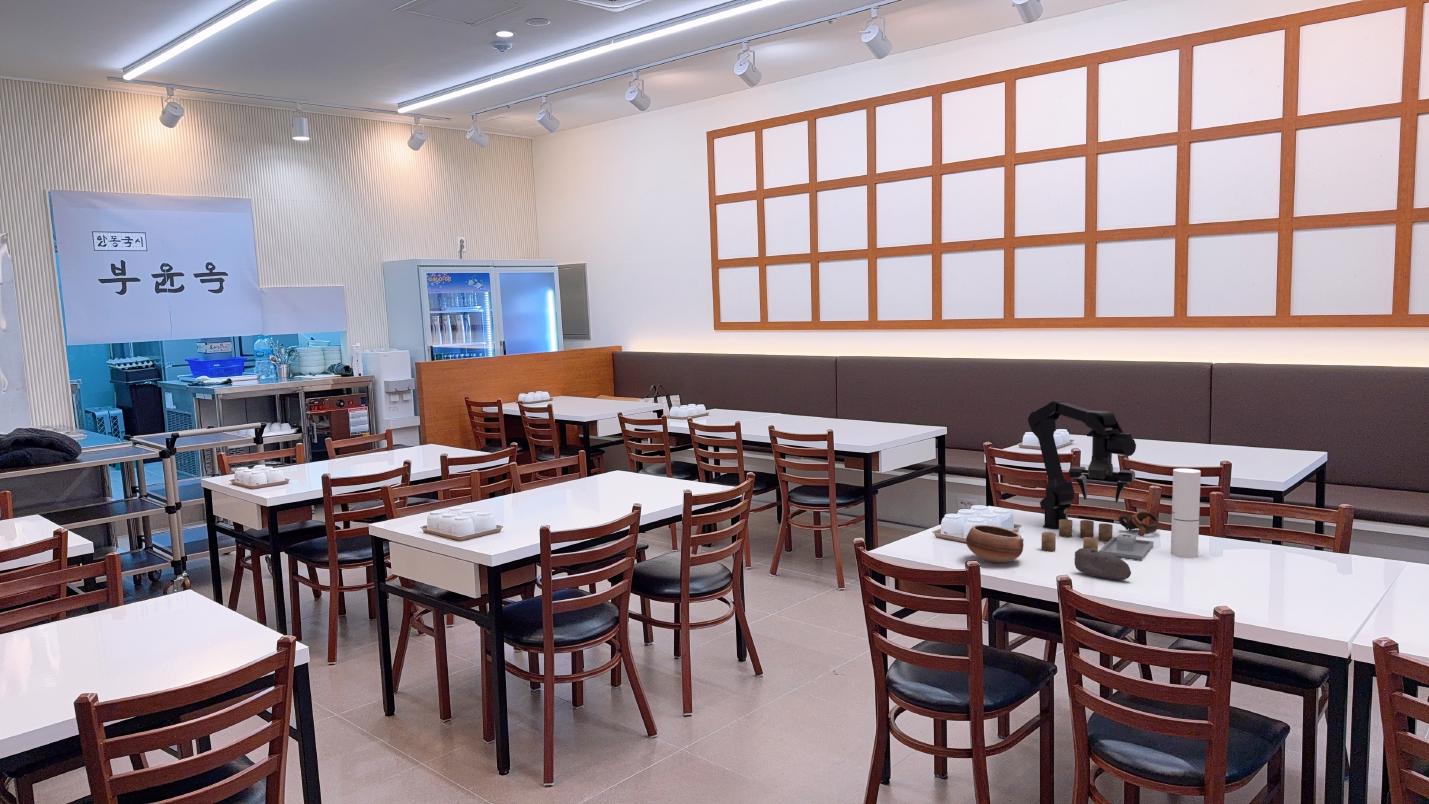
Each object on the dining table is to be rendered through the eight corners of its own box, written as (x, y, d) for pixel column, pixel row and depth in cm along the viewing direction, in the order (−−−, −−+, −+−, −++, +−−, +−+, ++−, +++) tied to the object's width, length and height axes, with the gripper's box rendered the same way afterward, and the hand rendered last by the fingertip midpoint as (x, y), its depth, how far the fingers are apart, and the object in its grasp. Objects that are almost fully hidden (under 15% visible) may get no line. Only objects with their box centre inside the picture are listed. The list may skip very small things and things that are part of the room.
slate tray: (1098, 555, 272) (1098, 550, 272) (1112, 541, 288) (1112, 536, 288) (1141, 561, 265) (1141, 556, 265) (1153, 546, 282) (1153, 541, 281)
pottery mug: (1154, 531, 302) (1162, 513, 297) (1152, 550, 295) (1160, 531, 290) (1116, 520, 306) (1123, 501, 301) (1112, 538, 299) (1120, 519, 294)
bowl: (1030, 568, 260) (1030, 533, 259) (973, 569, 261) (974, 534, 260) (1013, 553, 276) (1013, 521, 275) (960, 554, 276) (960, 521, 275)
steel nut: (1116, 549, 276) (1117, 536, 276) (1119, 546, 280) (1120, 533, 279) (1132, 551, 274) (1133, 538, 273) (1135, 548, 277) (1136, 534, 277)
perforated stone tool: (1135, 581, 246) (1135, 555, 246) (1125, 585, 243) (1126, 559, 242) (1082, 570, 258) (1082, 545, 257) (1072, 573, 255) (1072, 548, 254)
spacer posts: (1039, 550, 279) (1040, 534, 278) (1062, 532, 301) (1062, 517, 300) (1095, 557, 270) (1096, 540, 269) (1114, 538, 292) (1115, 523, 291)
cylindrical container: (1191, 551, 275) (1194, 468, 272) (1202, 557, 268) (1205, 472, 265) (1166, 551, 276) (1169, 468, 273) (1176, 557, 268) (1178, 472, 266)
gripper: (1064, 453, 288) (1063, 502, 290) (1129, 457, 278) (1127, 508, 279) (1073, 448, 297) (1072, 496, 299) (1136, 452, 287) (1134, 502, 288)
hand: (1100, 501), depth 291 cm, fingers open, 9 cm apart
